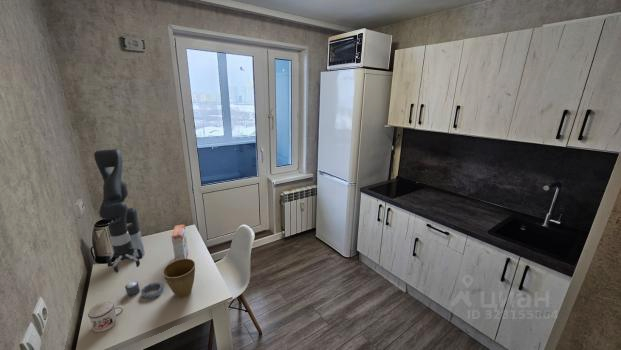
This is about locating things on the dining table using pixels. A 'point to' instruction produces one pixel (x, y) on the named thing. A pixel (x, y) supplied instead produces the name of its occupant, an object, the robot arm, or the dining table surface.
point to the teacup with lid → (103, 316)
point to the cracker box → (180, 242)
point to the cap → (132, 288)
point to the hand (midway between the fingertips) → (127, 268)
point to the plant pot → (180, 276)
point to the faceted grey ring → (151, 286)
